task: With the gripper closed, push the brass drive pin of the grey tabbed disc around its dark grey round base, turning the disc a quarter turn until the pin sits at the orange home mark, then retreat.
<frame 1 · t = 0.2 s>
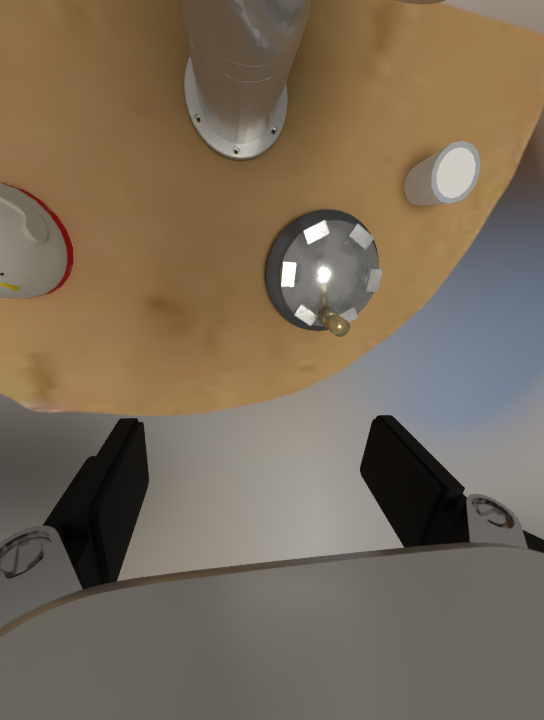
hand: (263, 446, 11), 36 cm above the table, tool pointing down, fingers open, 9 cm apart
white crested helmet: (16, 243, 37), on the table
grey white-topped cylinder: (420, 184, 42), on the table
dark grey round base: (320, 273, 44), on the table
grey tabbed disc: (335, 278, 38), point 7 cm above the table, hinge at 0.0°
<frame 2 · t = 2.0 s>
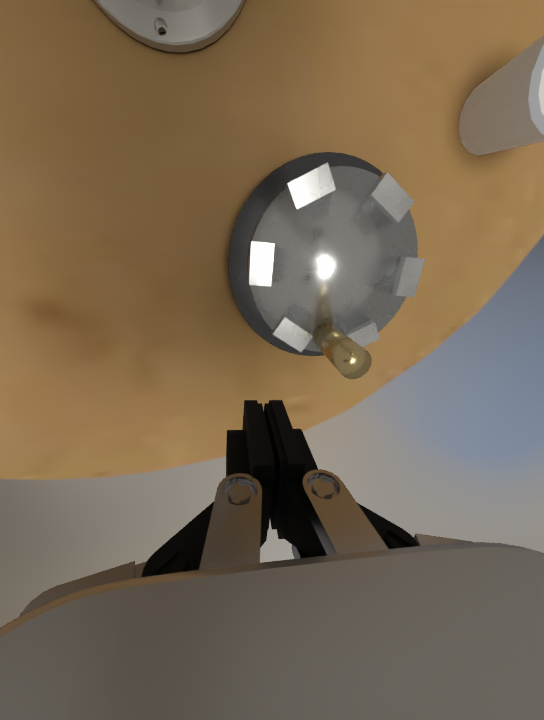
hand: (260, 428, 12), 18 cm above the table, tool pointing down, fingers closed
grey white-topped cylinder: (485, 119, 25), on the table
dark grey round base: (317, 266, 28), on the table
grey tabbed disc: (345, 272, 21), point 7 cm above the table, hinge at 0.0°
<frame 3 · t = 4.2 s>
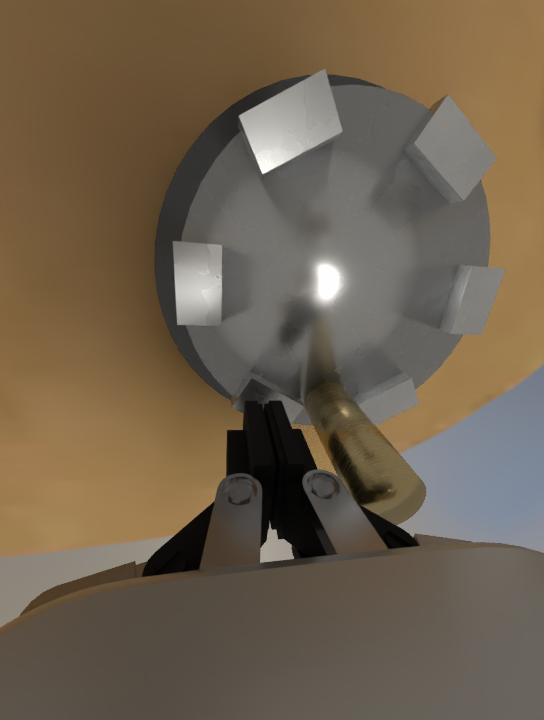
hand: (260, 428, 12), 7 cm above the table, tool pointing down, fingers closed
dark grey round base: (312, 280, 17), on the table
grey tabbed disc: (362, 299, 11), point 7 cm above the table, hinge at 9.6°, touching gripper
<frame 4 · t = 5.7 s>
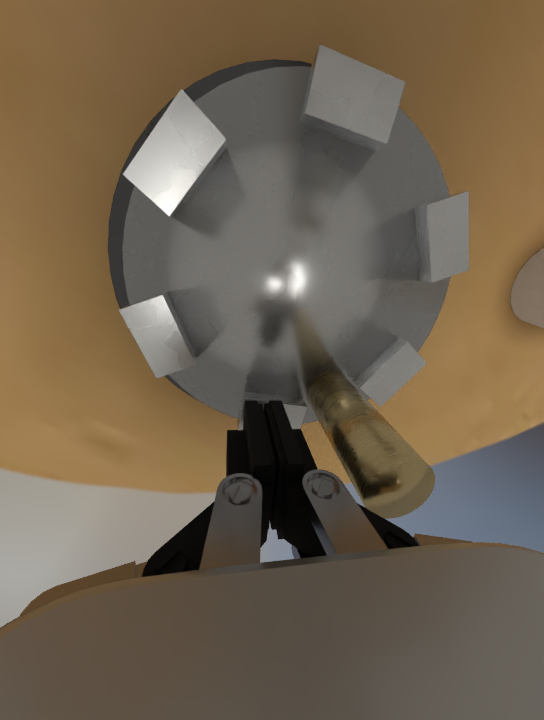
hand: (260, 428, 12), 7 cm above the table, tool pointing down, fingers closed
grey white-topped cylinder: (542, 284, 20), on the table
dark grey round base: (280, 276, 17), on the table
grey tabbed disc: (314, 292, 10), point 7 cm above the table, hinge at 64.8°, touching gripper
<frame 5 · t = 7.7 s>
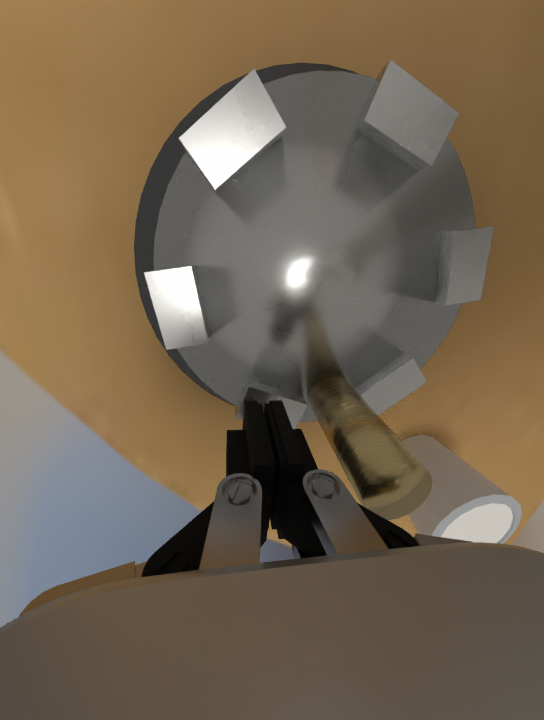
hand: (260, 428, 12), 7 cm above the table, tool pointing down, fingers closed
grey white-topped cylinder: (411, 458, 25), on the table
dark grey round base: (298, 275, 17), on the table
grey tabbed disc: (340, 291, 11), point 7 cm above the table, hinge at 107.1°
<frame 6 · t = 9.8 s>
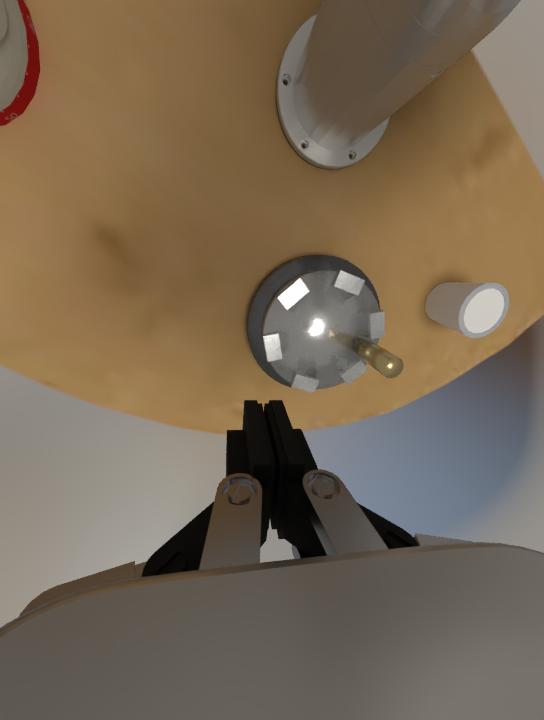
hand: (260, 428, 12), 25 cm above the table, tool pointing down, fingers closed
grey white-topped cylinder: (441, 301, 40), on the table
dark grey round base: (311, 324, 38), on the table
grey tabbed disc: (329, 339, 31), point 7 cm above the table, hinge at 107.1°
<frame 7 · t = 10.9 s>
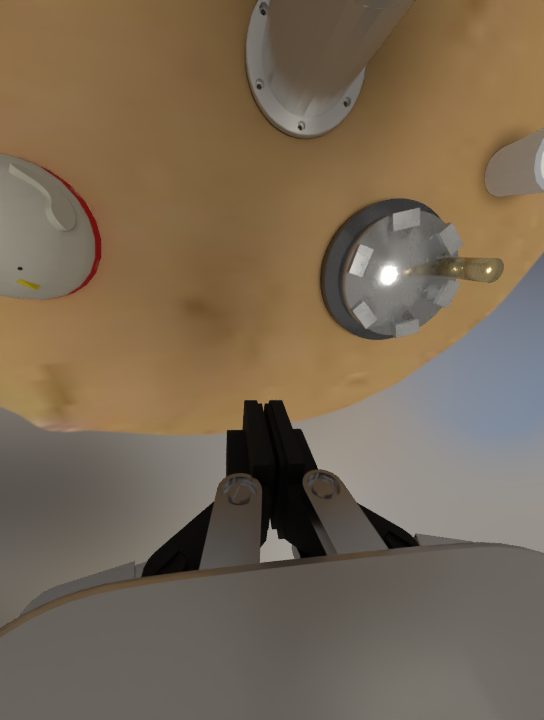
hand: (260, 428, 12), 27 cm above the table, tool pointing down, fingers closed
white crested helmet: (34, 234, 31), on the table
grey white-topped cylinder: (502, 172, 36), on the table
dark grey round base: (382, 274, 38), on the table
grey tabbed disc: (412, 279, 32), point 7 cm above the table, hinge at 107.1°
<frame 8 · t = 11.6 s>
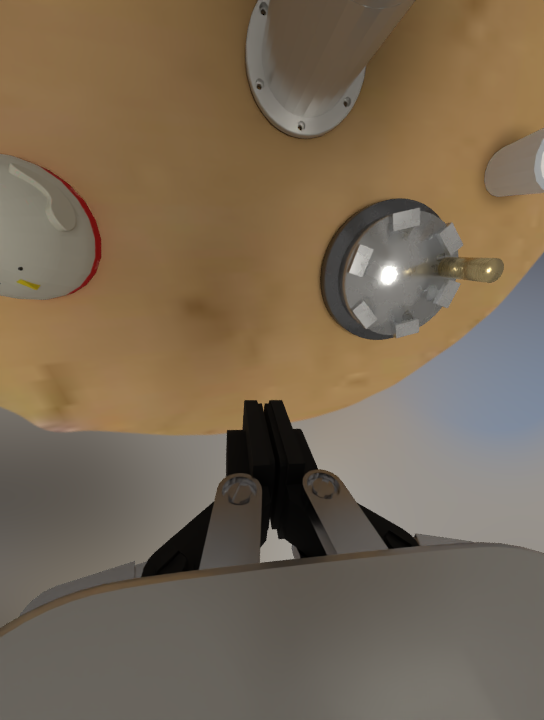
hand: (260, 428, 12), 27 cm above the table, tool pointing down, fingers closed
white crested helmet: (34, 234, 31), on the table
grey white-topped cylinder: (502, 172, 36), on the table
dark grey round base: (382, 274, 38), on the table
grey tabbed disc: (412, 279, 32), point 7 cm above the table, hinge at 107.1°
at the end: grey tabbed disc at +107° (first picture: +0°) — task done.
